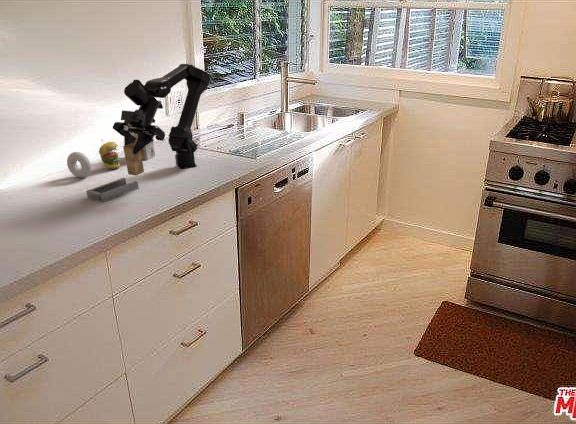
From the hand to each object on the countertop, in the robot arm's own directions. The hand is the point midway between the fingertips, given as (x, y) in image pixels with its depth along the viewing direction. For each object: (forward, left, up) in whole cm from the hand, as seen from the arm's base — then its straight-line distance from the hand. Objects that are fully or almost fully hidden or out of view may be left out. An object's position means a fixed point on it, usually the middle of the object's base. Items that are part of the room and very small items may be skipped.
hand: (129, 153), depth 168 cm
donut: (+15, -26, -14) cm, 33 cm away
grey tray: (+7, -2, -13) cm, 15 cm away
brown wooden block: (-1, -1, -8) cm, 8 cm away
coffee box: (-11, -39, -14) cm, 43 cm away
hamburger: (+3, -31, -14) cm, 34 cm away
